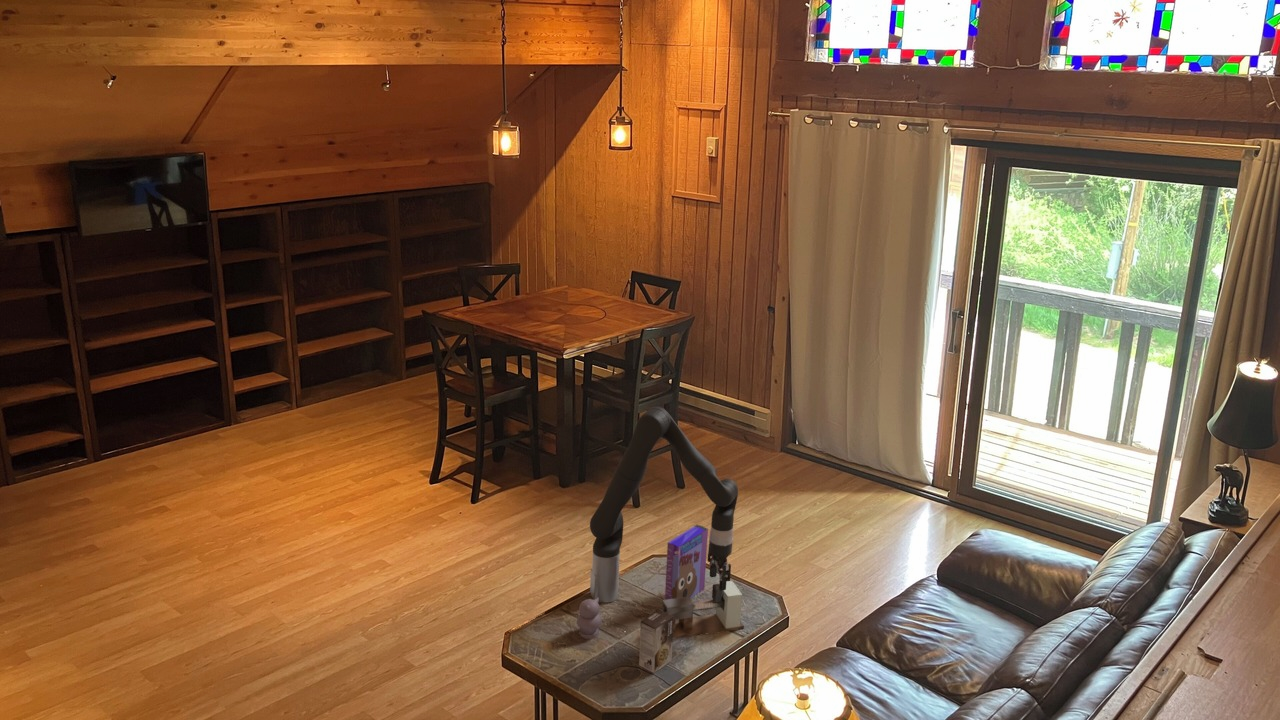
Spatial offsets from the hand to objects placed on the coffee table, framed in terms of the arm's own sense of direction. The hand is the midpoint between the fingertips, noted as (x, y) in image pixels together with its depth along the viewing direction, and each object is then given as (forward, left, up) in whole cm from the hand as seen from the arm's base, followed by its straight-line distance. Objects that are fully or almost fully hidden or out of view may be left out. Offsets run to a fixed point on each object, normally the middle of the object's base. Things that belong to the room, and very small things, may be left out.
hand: (717, 583), depth 328 cm
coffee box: (-26, -16, -16) cm, 34 cm away
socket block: (+5, 0, -16) cm, 16 cm away
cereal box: (-4, +19, -16) cm, 25 cm away
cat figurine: (-42, +5, -16) cm, 45 cm away
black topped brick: (-3, 0, -9) cm, 10 cm away
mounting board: (-5, 0, -16) cm, 16 cm away
